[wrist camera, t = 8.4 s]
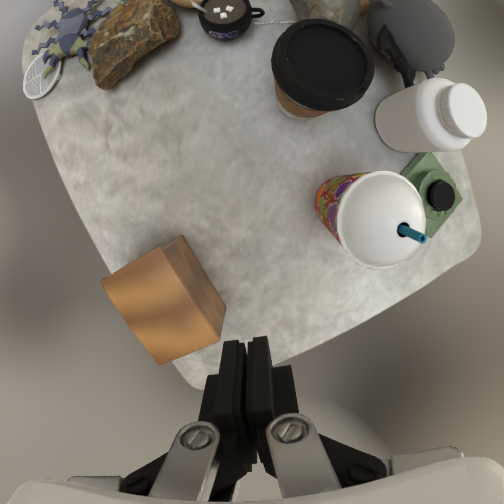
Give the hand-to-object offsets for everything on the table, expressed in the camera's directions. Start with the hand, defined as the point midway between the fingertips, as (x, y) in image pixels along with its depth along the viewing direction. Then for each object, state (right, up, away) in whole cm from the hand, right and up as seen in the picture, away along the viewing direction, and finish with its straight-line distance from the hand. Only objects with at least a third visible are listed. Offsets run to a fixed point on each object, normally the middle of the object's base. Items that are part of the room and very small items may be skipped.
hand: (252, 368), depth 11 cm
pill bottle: (+19, +22, +22) cm, 36 cm away
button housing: (+24, +13, +24) cm, 36 cm away
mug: (0, +34, +18) cm, 38 cm away
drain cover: (-32, +32, +18) cm, 49 cm away
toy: (-26, +29, +18) cm, 43 cm away
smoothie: (+11, +11, +25) cm, 29 cm away
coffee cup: (+6, +23, +22) cm, 32 cm away
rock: (-11, +28, +16) cm, 34 cm away
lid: (-10, -2, +20) cm, 23 cm away
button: (+24, +12, +21) cm, 33 cm away
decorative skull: (+22, +38, +13) cm, 46 cm away
